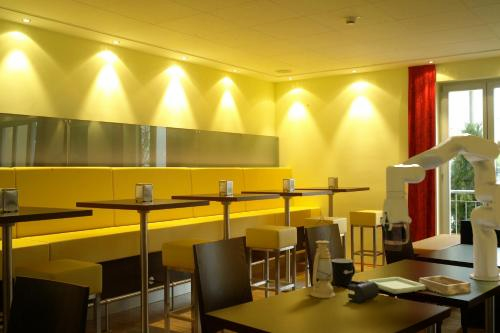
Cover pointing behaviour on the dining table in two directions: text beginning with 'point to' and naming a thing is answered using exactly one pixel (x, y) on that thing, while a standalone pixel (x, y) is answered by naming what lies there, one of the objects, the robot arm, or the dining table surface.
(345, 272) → the mug
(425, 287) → the tray
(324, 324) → the dining table surface
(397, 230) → the mug
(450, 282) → the tray
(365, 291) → the end cap
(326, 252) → the lantern
